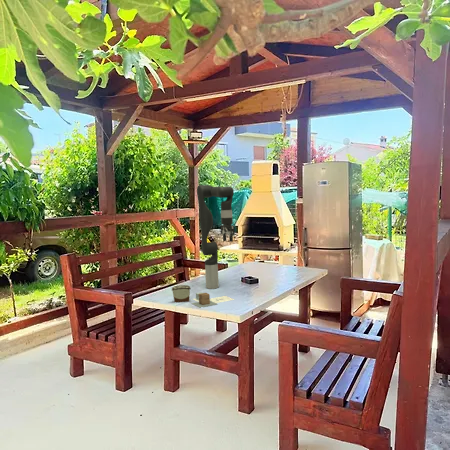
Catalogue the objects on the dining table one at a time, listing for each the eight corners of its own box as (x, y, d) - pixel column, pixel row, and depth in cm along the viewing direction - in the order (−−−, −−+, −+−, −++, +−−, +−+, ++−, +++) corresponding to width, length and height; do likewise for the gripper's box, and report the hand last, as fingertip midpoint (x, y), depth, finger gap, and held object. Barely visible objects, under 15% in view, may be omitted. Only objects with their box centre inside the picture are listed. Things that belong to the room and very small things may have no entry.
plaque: (192, 299, 251) (192, 299, 251) (203, 297, 255) (203, 296, 255) (197, 302, 244) (197, 301, 244) (208, 299, 248) (208, 299, 248)
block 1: (196, 299, 250) (195, 293, 250) (201, 298, 253) (200, 292, 252) (199, 300, 247) (199, 294, 247) (204, 299, 249) (204, 293, 249)
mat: (191, 304, 240) (191, 303, 240) (208, 300, 246) (208, 299, 246) (200, 308, 230) (199, 307, 230) (217, 304, 236) (217, 304, 236)
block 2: (199, 303, 239) (198, 293, 238) (206, 302, 241) (205, 292, 241) (202, 305, 234) (202, 295, 234) (209, 303, 237) (209, 294, 237)
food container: (192, 299, 251) (191, 284, 250) (191, 302, 245) (190, 286, 244) (173, 300, 251) (172, 285, 250) (172, 303, 245) (171, 287, 244)
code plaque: (203, 300, 248) (203, 299, 248) (225, 296, 255) (225, 295, 255) (212, 304, 237) (212, 303, 237) (234, 300, 245) (234, 299, 245)
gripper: (237, 216, 252) (238, 241, 253) (226, 216, 264) (227, 239, 265) (227, 217, 248) (228, 242, 249) (216, 217, 260) (217, 240, 261)
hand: (227, 241), depth 257 cm, fingers open, 8 cm apart
